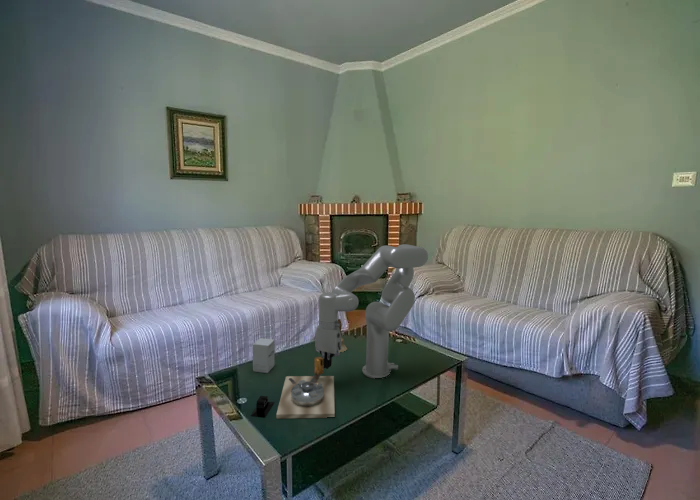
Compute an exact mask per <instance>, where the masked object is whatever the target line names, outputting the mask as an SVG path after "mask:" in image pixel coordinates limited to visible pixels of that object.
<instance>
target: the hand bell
mask: <svg viewBox="0 0 700 500" xmlns="http://www.w3.org/2000/svg"><path fill="white" fill-rule="evenodd" d="M338 323H340V327H339V328H340V334H341V335H342V333H341V332H342V328H343V324H342V323H343V322H342V320H341V319H340V318H338ZM344 340H345V339H344V338H343V337H341V350H339V352H342V353H345V352H347V351H346V350H348V348H347V346H346V345H345V341H344ZM344 351H345V352H344Z"/></svg>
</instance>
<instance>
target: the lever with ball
mask: <svg viewBox="0 0 700 500" xmlns="http://www.w3.org/2000/svg"><path fill="white" fill-rule="evenodd" d="M313 365H314V371H313V372H314V374H313V378H312V379H311V381H307V382H306V381H305V380H302V381H298V384H296V385H295V386H293V388H292V390H291V400H292V402H293V403H294V404H296V405H298V406H302V407H310V406H314V405H317V404H319V403H320V402H321V401H322V400H323V398H324V388H323V386H322V384H321V383H320V382H317V380H318V379H319V377H320V376H322V375H323V374H324V365H323V358H322V356H316V357H314V364H313ZM316 382H317V383H316Z"/></svg>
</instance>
